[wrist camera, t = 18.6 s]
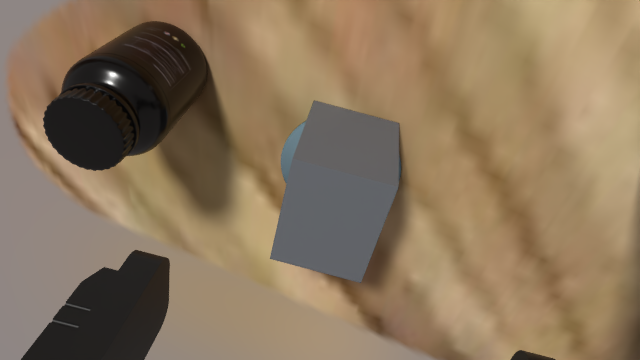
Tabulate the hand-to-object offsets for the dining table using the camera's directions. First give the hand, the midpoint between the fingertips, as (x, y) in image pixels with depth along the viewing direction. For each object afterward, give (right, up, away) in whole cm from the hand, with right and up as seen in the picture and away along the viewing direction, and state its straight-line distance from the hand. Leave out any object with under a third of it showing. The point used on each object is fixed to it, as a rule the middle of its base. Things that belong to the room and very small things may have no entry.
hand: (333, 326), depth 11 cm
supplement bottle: (-12, +12, +26) cm, 31 cm away
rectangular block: (+2, +5, +28) cm, 29 cm away
